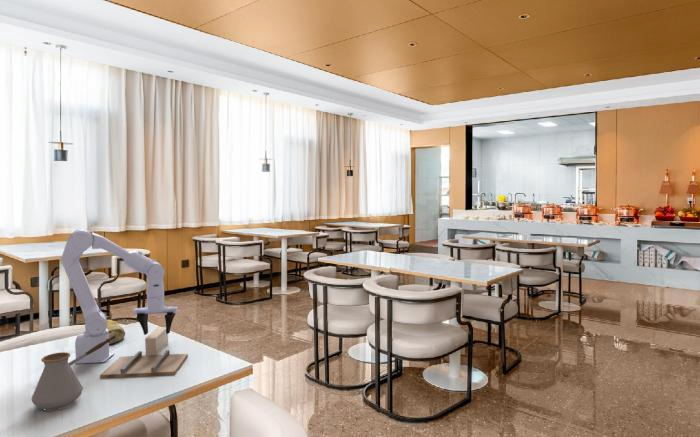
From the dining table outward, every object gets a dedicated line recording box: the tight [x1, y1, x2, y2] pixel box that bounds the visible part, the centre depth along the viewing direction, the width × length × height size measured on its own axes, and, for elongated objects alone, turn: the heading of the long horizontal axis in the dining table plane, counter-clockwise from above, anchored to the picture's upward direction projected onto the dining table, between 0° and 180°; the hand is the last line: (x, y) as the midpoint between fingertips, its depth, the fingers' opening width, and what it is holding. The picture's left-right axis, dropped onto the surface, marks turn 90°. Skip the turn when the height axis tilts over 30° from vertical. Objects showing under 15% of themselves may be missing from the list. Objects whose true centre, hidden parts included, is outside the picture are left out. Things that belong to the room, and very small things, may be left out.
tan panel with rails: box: [99, 349, 189, 379], centre depth 143 cm, size 22×15×2 cm
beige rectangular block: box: [144, 326, 169, 356], centre depth 160 cm, size 4×13×6 cm, turn 5°
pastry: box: [106, 319, 126, 345], centre depth 169 cm, size 14×12×8 cm
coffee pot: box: [31, 335, 120, 411], centre depth 122 cm, size 21×12×15 cm, turn 137°
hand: (157, 333), depth 160 cm, fingers open, 7 cm apart
